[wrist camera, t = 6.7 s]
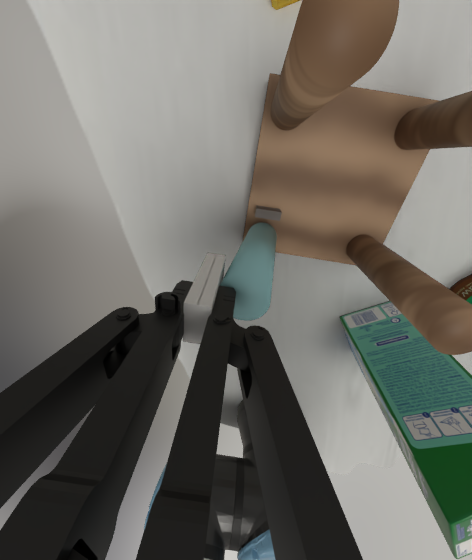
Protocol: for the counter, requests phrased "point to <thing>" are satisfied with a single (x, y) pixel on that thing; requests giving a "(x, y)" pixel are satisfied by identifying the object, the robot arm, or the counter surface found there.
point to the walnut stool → (354, 159)
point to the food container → (464, 288)
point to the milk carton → (421, 411)
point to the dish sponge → (282, 3)
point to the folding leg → (253, 272)
